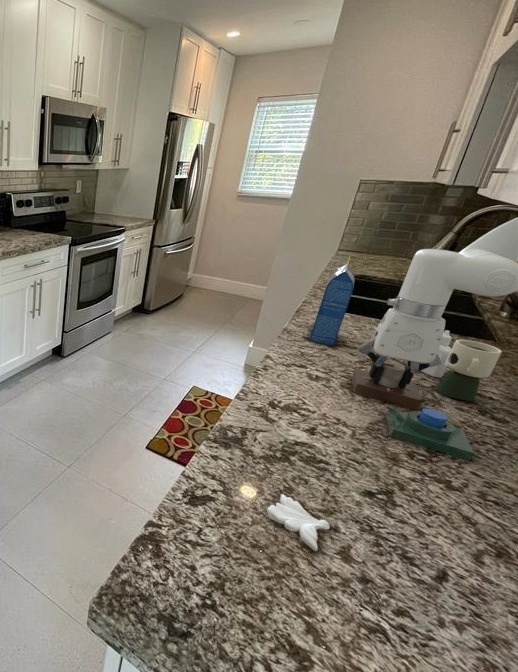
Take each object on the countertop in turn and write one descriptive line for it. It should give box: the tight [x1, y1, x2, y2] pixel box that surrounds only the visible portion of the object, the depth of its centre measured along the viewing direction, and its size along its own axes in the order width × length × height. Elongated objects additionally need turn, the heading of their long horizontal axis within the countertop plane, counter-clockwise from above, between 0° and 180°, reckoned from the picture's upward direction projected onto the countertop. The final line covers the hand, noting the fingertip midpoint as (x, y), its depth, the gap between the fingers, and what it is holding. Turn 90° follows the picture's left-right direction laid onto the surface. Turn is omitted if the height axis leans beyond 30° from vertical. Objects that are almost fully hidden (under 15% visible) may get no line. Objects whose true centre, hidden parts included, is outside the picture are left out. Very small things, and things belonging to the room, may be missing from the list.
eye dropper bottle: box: [420, 329, 453, 378], centre depth 103 cm, size 4×6×12 cm
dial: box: [378, 361, 406, 388], centre depth 93 cm, size 4×4×5 cm
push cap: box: [418, 408, 449, 428], centre depth 78 cm, size 4×4×2 cm
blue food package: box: [308, 256, 356, 347], centre depth 120 cm, size 6×12×25 cm, turn 140°
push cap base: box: [384, 408, 475, 461], centre depth 79 cm, size 11×9×4 cm
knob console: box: [351, 368, 423, 411], centre depth 94 cm, size 11×9×3 cm
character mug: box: [436, 339, 503, 402], centre depth 93 cm, size 11×7×13 cm, turn 136°
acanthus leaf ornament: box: [266, 493, 331, 552], centre depth 59 cm, size 8×7×2 cm
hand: (387, 382), depth 94 cm, fingers closed on dial, 4 cm apart
